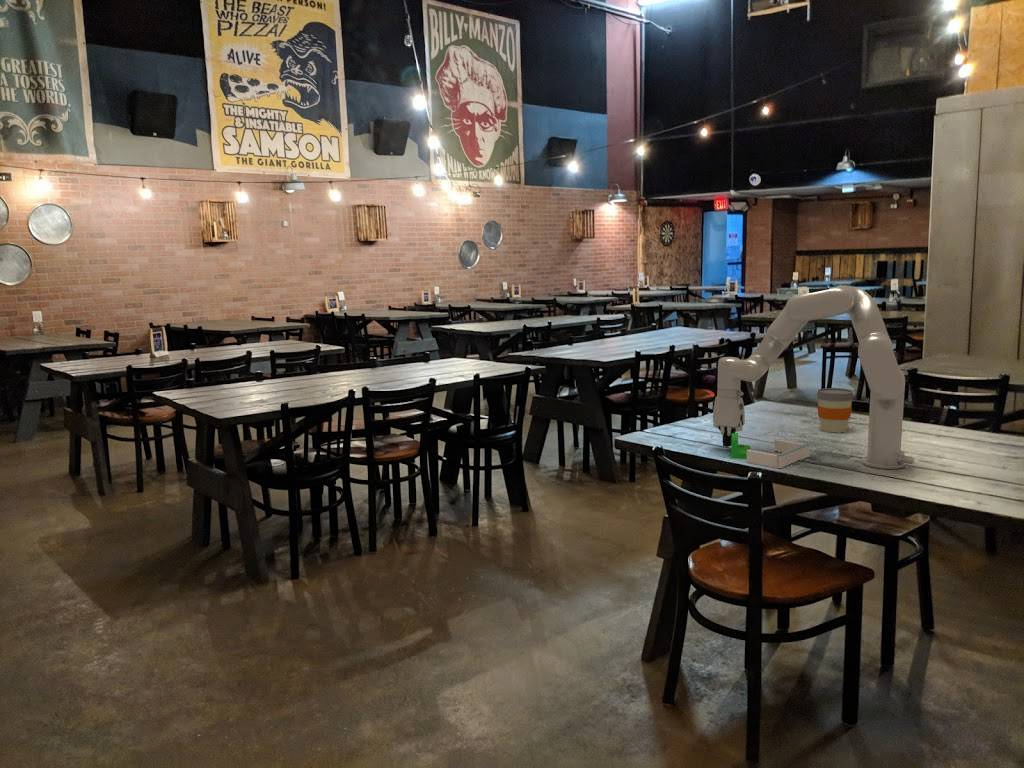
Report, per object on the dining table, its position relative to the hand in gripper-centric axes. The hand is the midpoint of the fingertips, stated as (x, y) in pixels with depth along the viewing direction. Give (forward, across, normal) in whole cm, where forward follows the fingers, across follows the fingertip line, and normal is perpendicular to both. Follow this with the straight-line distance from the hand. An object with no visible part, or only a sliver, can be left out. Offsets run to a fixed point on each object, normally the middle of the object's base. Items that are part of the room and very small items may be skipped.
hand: (727, 445), depth 271 cm
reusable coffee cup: (+2, -14, -51) cm, 53 cm away
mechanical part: (+2, -6, +2) cm, 7 cm away
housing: (+1, -18, 0) cm, 19 cm away
